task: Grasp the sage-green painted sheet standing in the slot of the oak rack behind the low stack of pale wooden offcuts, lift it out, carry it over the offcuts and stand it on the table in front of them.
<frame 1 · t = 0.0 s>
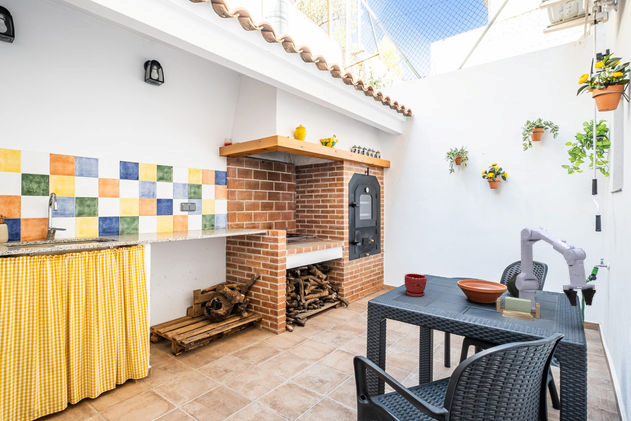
hand: (581, 305, 147), 11 cm above the table, tool pointing down, fingers open, 7 cm apart
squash: (520, 296, 200), on the table
green sheet: (517, 313, 168), resting in oak rack
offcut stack: (517, 318, 162), on the table
oak rack: (517, 313, 168), on the table
hand saw: (503, 295, 204), on the table
plant pot: (415, 295, 202), on the table
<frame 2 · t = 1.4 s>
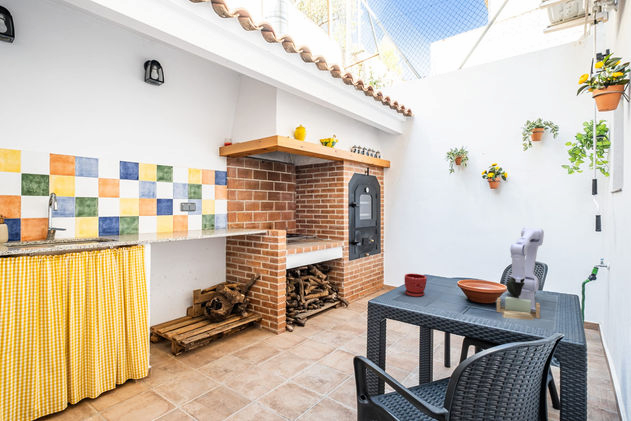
hand: (517, 293, 168), 10 cm above the table, tool pointing down, fingers open, 7 cm apart
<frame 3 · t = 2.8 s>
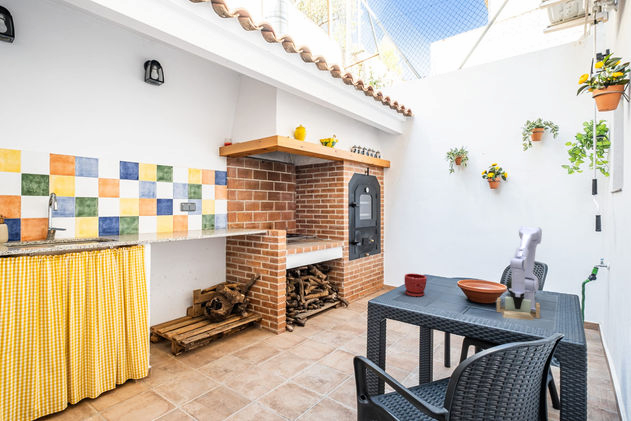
hand: (517, 307, 168), 3 cm above the table, tool pointing down, fingers closed on green sheet, 4 cm apart
green sheet: (517, 313, 168), resting in oak rack, touching gripper
everything else where it was.
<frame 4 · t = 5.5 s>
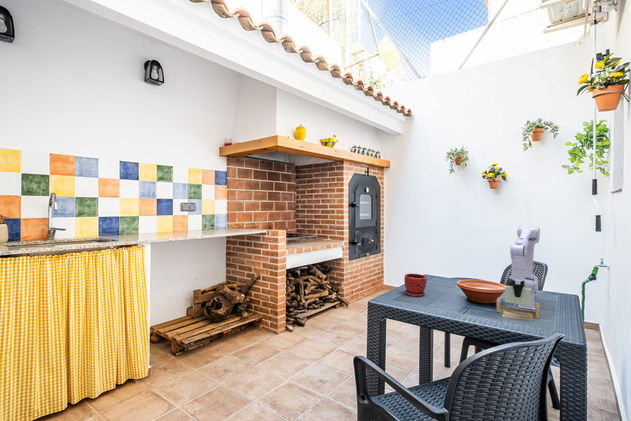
hand: (517, 296, 162), 11 cm above the table, tool pointing down, fingers closed on green sheet, 4 cm apart
green sheet: (517, 302, 162), point 7 cm above the table, touching gripper
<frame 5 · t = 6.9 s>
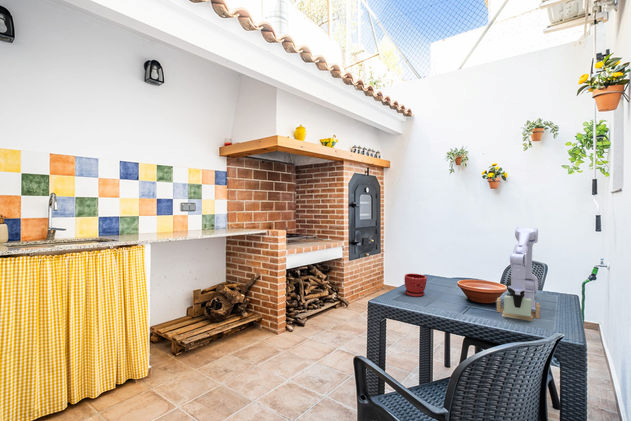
hand: (517, 306, 158), 7 cm above the table, tool pointing down, fingers closed on green sheet, 4 cm apart
green sheet: (517, 313, 158), point 3 cm above the table, touching gripper
everything else where it was.
when the fingers open (4 cm above the table, at t = 8.0 s): green sheet stays where it is, on the table.
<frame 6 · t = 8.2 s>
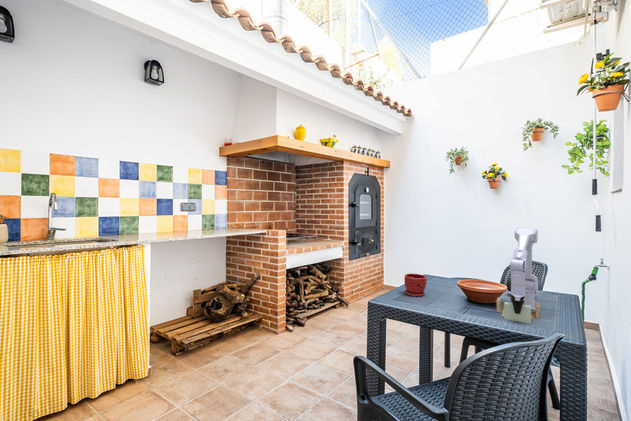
hand: (517, 311, 158), 4 cm above the table, tool pointing down, fingers open, 6 cm apart
green sheet: (517, 320, 158), on the table
everything else where it was.
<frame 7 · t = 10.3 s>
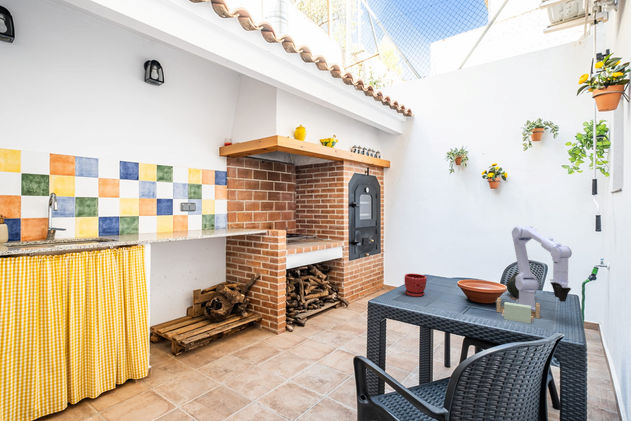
hand: (560, 299, 158), 10 cm above the table, tool pointing down, fingers open, 7 cm apart
nothing on the table moved.
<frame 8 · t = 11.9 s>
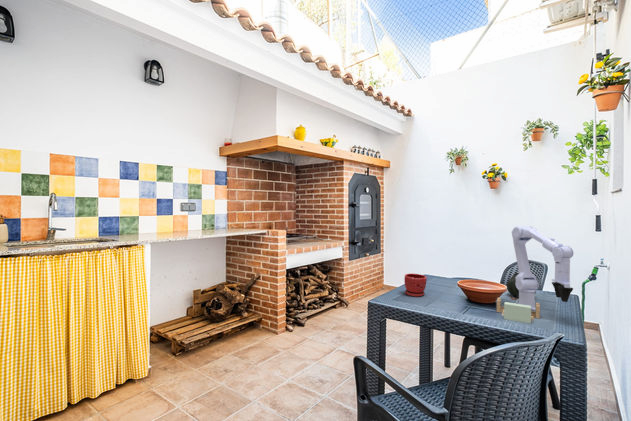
hand: (561, 299, 158), 10 cm above the table, tool pointing down, fingers open, 7 cm apart
at the end: green sheet inside the target area (0.5 cm from its centre), on the table; green sheet tilted 0°; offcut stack moved 0.5 cm from its start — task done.
